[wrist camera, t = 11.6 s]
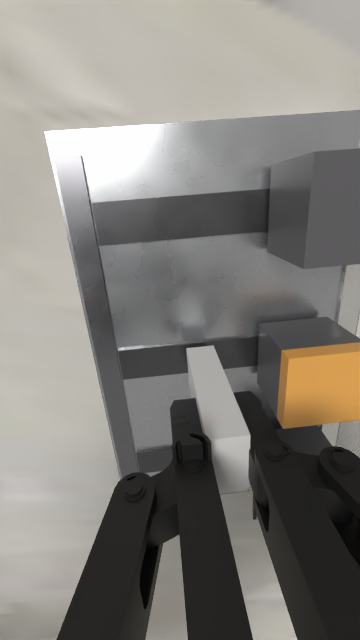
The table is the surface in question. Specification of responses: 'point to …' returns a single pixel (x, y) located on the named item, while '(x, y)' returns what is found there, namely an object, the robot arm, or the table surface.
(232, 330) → the panel
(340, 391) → the block
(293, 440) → the breaker
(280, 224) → the block
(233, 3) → the table surface
